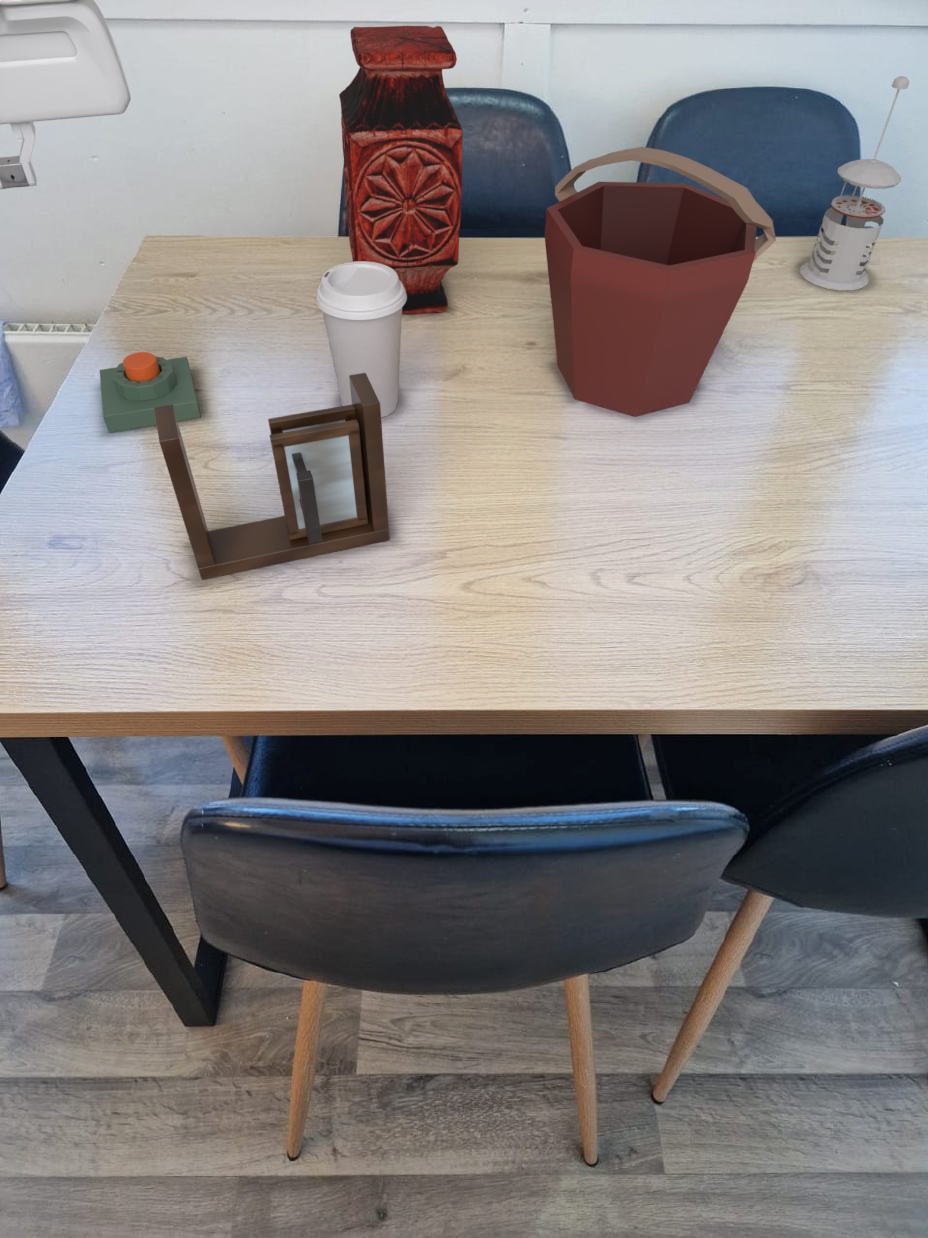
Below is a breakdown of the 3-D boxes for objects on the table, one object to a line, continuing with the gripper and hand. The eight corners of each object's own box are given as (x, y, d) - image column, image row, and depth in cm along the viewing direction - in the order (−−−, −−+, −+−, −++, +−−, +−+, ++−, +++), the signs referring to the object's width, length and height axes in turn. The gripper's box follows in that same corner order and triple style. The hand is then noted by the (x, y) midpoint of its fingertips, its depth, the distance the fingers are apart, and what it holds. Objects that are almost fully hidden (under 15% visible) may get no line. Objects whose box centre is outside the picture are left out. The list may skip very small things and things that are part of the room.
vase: (461, 318, 111) (464, 53, 89) (357, 324, 109) (335, 56, 87) (446, 271, 120) (446, 20, 98) (351, 276, 119) (329, 22, 96)
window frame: (201, 580, 77) (159, 441, 66) (195, 545, 80) (153, 407, 69) (389, 540, 81) (380, 402, 70) (376, 508, 84) (365, 372, 73)
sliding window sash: (299, 573, 75) (280, 472, 67) (288, 535, 79) (269, 434, 70) (380, 555, 77) (372, 454, 69) (366, 519, 80) (357, 419, 72)
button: (128, 384, 92) (123, 370, 91) (126, 368, 95) (121, 354, 93) (161, 379, 93) (157, 365, 92) (158, 363, 96) (154, 349, 94)
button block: (109, 433, 92) (98, 402, 89) (105, 386, 99) (94, 355, 96) (200, 417, 95) (193, 386, 92) (191, 372, 101) (183, 342, 98)
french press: (804, 287, 118) (869, 85, 100) (793, 252, 126) (852, 58, 108) (875, 292, 117) (954, 90, 99) (860, 256, 125) (931, 62, 107)
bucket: (763, 394, 100) (835, 170, 81) (632, 460, 90) (679, 225, 72) (619, 312, 113) (653, 103, 94) (491, 363, 103) (501, 142, 85)
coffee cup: (364, 372, 101) (354, 249, 90) (427, 398, 98) (424, 273, 87) (311, 408, 96) (293, 282, 85) (375, 437, 93) (365, 309, 81)
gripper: (-252, -17, 51) (-135, 216, 61) (98, -34, 55) (152, 185, 66) (-231, -38, 55) (-124, 184, 65) (94, -52, 60) (146, 157, 70)
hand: (17, 185), depth 65 cm, fingers closed
